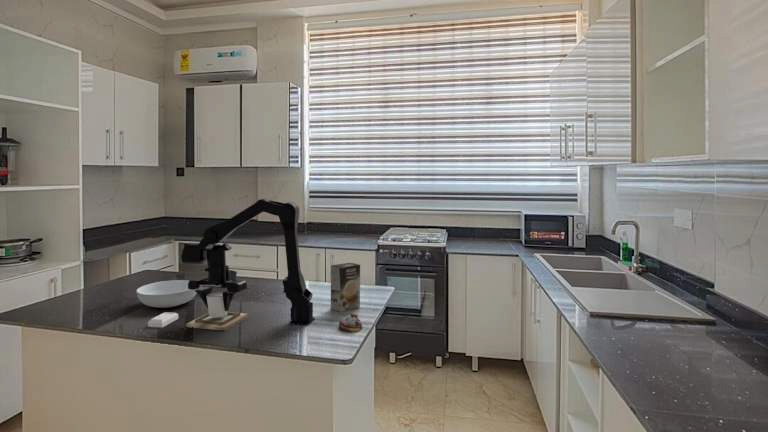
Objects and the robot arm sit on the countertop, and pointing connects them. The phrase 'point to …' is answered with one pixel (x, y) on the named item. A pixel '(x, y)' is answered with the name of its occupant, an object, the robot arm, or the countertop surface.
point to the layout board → (217, 321)
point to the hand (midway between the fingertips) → (218, 310)
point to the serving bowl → (165, 293)
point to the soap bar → (163, 319)
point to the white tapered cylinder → (216, 304)
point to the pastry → (350, 323)
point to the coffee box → (345, 286)
